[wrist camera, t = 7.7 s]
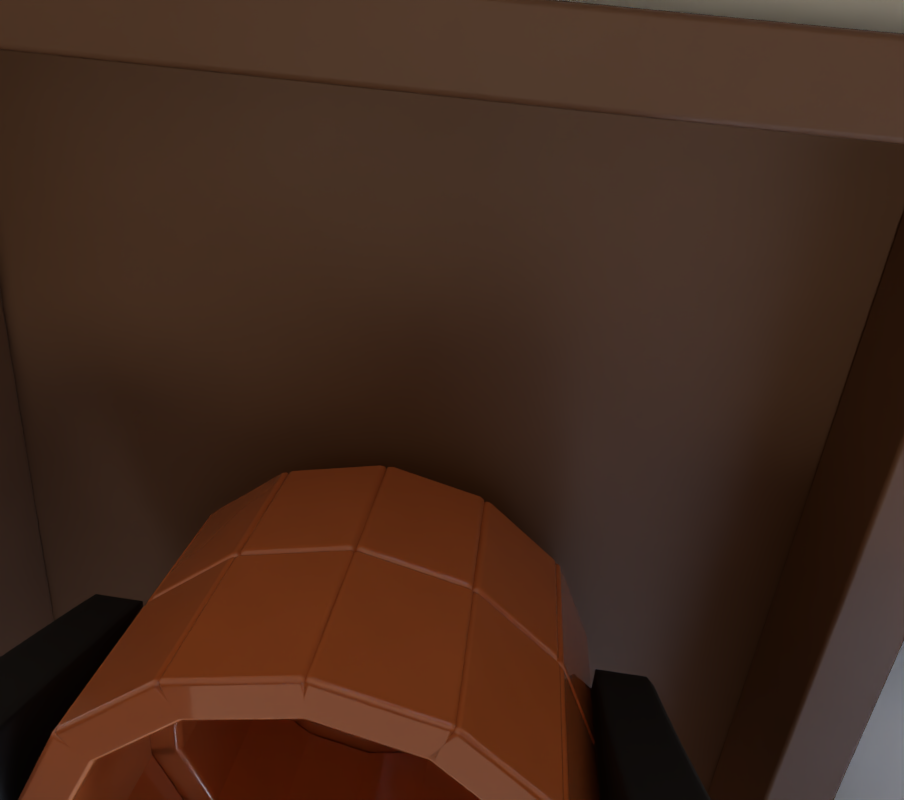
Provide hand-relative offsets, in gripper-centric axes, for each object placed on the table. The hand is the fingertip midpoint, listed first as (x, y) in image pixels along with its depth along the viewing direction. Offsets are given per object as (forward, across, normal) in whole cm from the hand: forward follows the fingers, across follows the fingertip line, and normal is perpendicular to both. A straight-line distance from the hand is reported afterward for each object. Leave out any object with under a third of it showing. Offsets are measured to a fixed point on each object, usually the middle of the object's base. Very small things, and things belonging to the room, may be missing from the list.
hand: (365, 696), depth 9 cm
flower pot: (+1, 0, 0) cm, 1 cm away
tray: (+2, 0, 0) cm, 2 cm away
